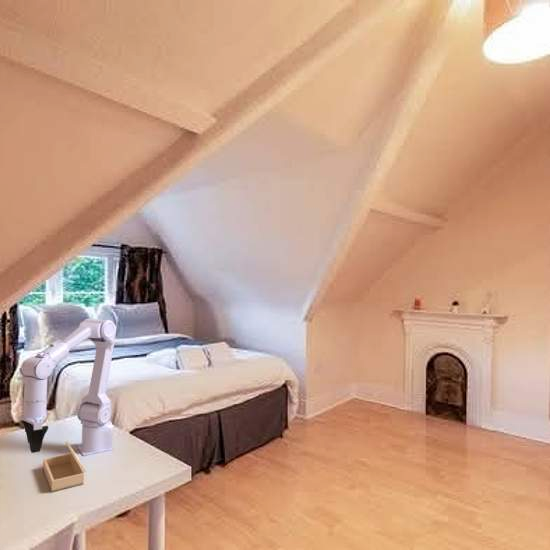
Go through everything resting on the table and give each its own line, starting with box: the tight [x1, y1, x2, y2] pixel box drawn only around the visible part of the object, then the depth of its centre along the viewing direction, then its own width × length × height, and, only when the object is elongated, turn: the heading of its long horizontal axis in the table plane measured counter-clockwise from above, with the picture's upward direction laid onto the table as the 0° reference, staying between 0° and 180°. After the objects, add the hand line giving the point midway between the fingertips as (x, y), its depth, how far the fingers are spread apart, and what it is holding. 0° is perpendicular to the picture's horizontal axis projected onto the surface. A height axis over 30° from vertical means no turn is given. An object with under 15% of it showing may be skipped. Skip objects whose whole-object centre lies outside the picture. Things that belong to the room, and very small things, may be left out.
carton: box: [42, 452, 85, 493], centre depth 123 cm, size 8×16×3 cm, turn 37°
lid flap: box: [65, 441, 86, 473], centre depth 125 cm, size 4×15×1 cm
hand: (33, 447), depth 120 cm, fingers open, 7 cm apart
